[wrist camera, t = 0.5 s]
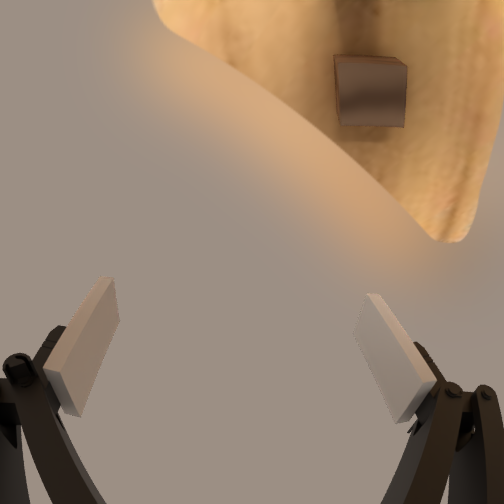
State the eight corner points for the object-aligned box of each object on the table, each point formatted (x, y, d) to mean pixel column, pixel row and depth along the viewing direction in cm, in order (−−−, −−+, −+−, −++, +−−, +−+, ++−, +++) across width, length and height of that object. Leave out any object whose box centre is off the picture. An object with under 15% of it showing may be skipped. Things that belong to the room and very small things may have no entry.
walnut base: (333, 54, 31) (337, 62, 28) (395, 57, 29) (407, 66, 26) (336, 110, 37) (340, 125, 33) (393, 112, 35) (403, 127, 32)
